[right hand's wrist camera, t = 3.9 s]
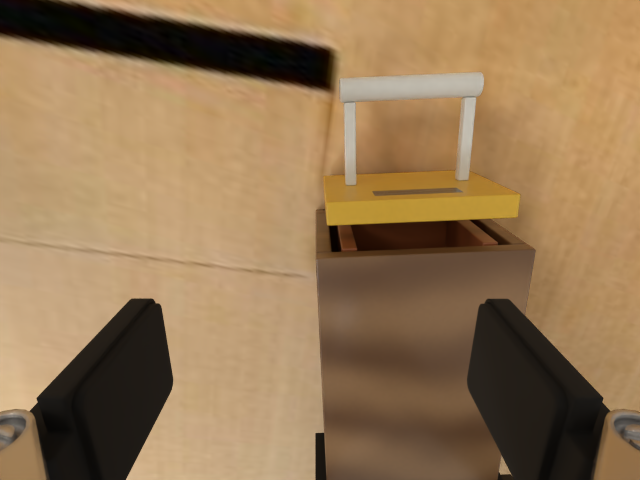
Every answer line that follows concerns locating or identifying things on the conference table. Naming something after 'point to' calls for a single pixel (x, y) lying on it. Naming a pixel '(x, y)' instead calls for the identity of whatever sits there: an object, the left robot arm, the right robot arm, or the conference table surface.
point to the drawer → (413, 178)
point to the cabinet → (409, 354)
